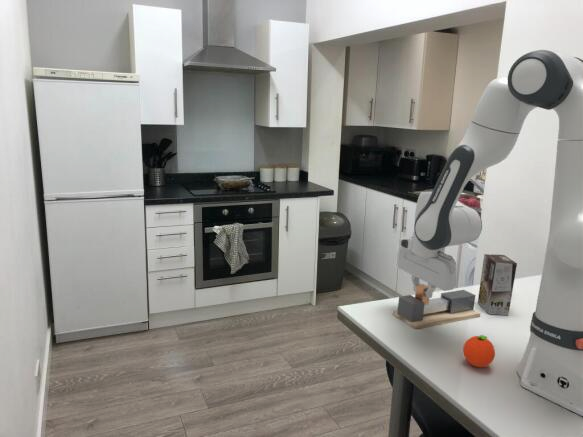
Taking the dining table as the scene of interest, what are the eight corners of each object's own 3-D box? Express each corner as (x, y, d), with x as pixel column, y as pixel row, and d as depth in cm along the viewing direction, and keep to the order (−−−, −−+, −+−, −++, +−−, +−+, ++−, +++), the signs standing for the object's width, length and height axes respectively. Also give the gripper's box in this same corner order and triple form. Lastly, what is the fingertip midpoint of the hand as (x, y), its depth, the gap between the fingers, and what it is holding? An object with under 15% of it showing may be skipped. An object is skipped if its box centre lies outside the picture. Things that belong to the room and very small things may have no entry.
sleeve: (473, 309, 140) (475, 295, 139) (450, 313, 136) (452, 298, 135) (461, 303, 144) (463, 289, 143) (439, 307, 140) (441, 293, 139)
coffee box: (509, 315, 140) (518, 263, 136) (487, 314, 140) (495, 262, 137) (497, 303, 149) (504, 254, 145) (476, 302, 149) (483, 253, 145)
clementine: (468, 353, 116) (472, 326, 114) (498, 363, 112) (502, 335, 110) (456, 365, 110) (460, 336, 108) (487, 376, 106) (491, 347, 104)
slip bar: (452, 309, 137) (456, 283, 136) (411, 316, 131) (414, 289, 129) (445, 305, 140) (448, 280, 138) (404, 312, 133) (407, 286, 132)
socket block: (422, 320, 131) (424, 302, 130) (411, 322, 129) (413, 304, 128) (408, 311, 136) (410, 294, 135) (397, 313, 134) (399, 296, 133)
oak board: (480, 316, 138) (480, 313, 138) (415, 328, 128) (416, 325, 127) (454, 303, 147) (455, 300, 147) (392, 314, 136) (392, 311, 136)
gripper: (465, 256, 122) (458, 307, 125) (412, 236, 140) (407, 281, 143) (446, 259, 119) (440, 310, 122) (395, 238, 137) (391, 283, 140)
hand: (422, 294), depth 133 cm, fingers closed on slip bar, 3 cm apart
